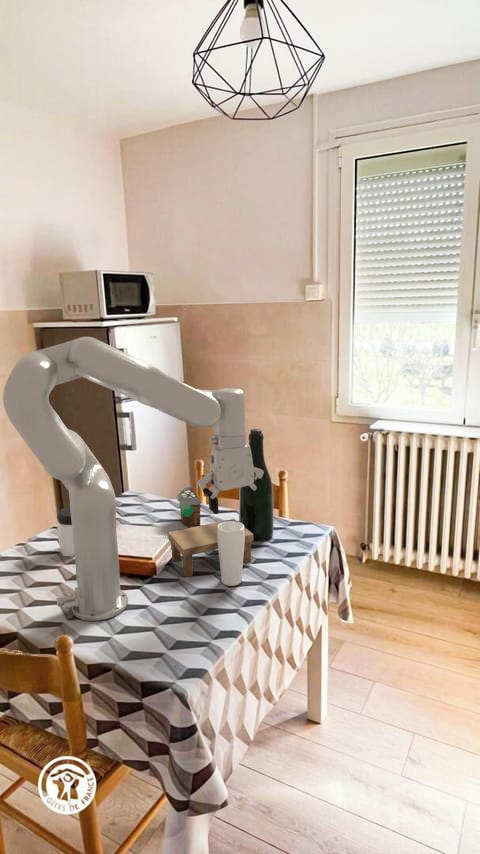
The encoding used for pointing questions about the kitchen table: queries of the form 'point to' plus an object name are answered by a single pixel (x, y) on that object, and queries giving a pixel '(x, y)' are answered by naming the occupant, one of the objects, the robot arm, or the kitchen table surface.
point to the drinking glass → (231, 551)
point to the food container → (189, 507)
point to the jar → (65, 532)
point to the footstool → (200, 544)
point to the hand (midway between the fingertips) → (232, 508)
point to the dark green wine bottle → (258, 495)
